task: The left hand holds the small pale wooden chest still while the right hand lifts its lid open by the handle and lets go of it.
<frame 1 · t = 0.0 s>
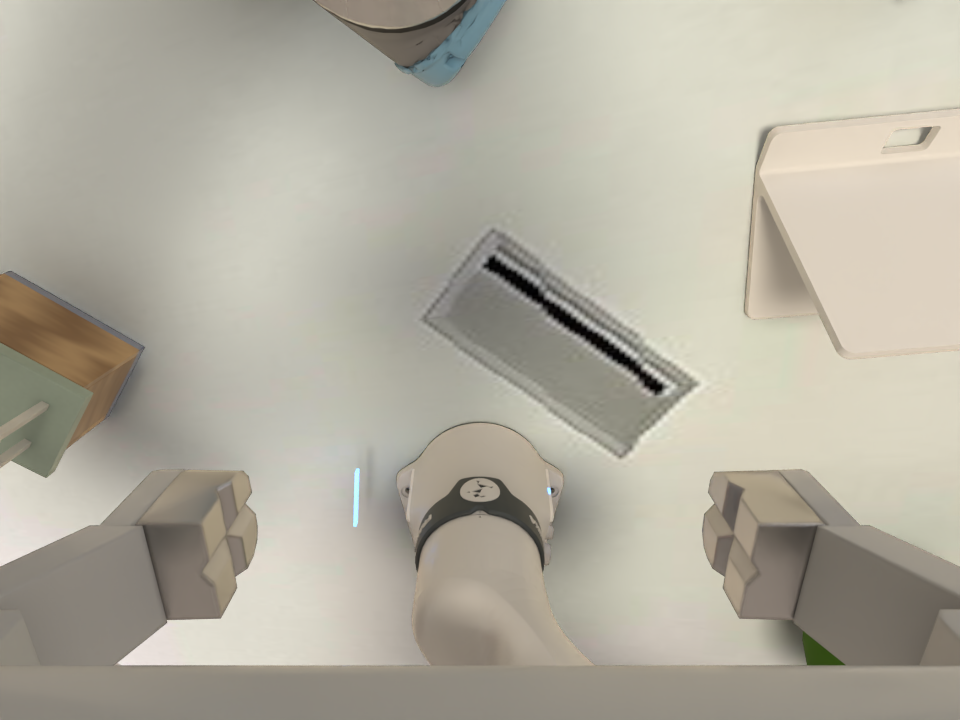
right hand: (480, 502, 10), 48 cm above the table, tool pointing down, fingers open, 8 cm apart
chest: (62, 347, 60), on the table
vase: (840, 594, 73), on the table
tablet stand: (882, 215, 55), on the table
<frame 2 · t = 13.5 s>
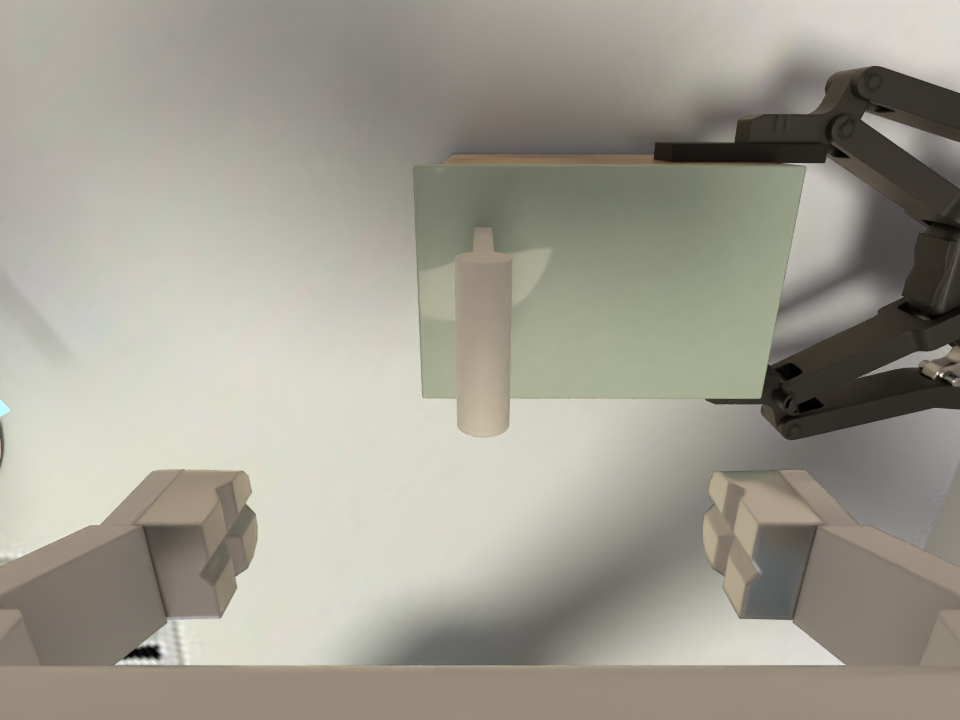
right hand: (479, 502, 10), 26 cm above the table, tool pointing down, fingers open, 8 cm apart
left hand: (649, 269, 28), fingers closed on chest, 10 cm apart
lid: (616, 313, 21), point 14 cm above the table, hinge at 0.0°
chest: (572, 241, 34), on the table, touching left hand
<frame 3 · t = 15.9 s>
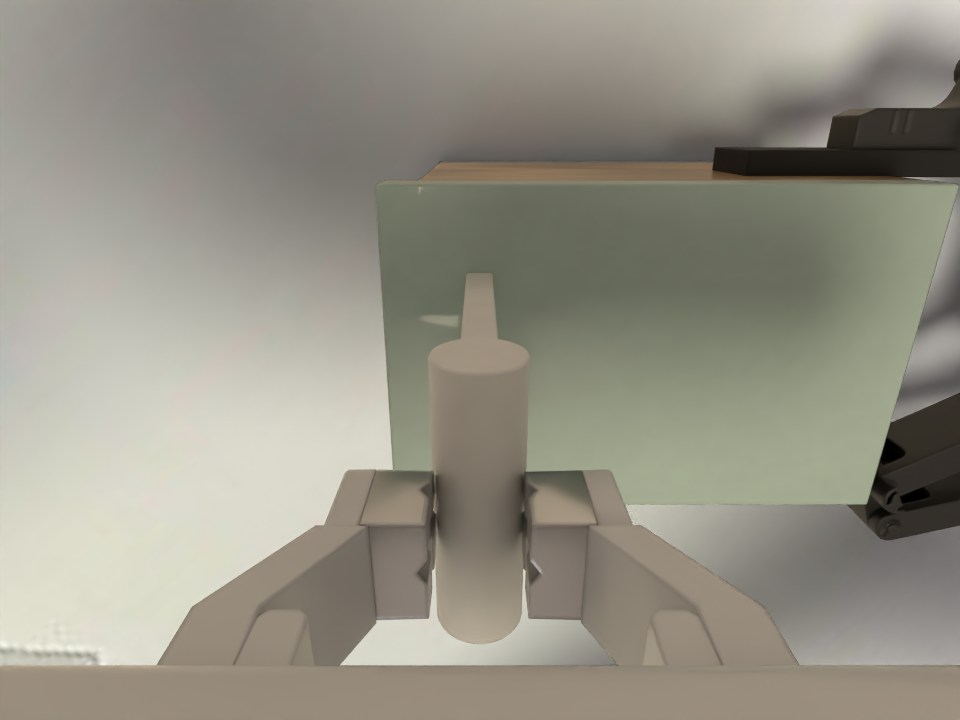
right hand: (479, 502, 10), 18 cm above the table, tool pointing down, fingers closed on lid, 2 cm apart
left hand: (705, 319, 20), fingers closed on chest, 10 cm apart
lid: (682, 410, 14), point 14 cm above the table, hinge at 0.0°, touching right hand
chest: (593, 272, 27), on the table, touching left hand
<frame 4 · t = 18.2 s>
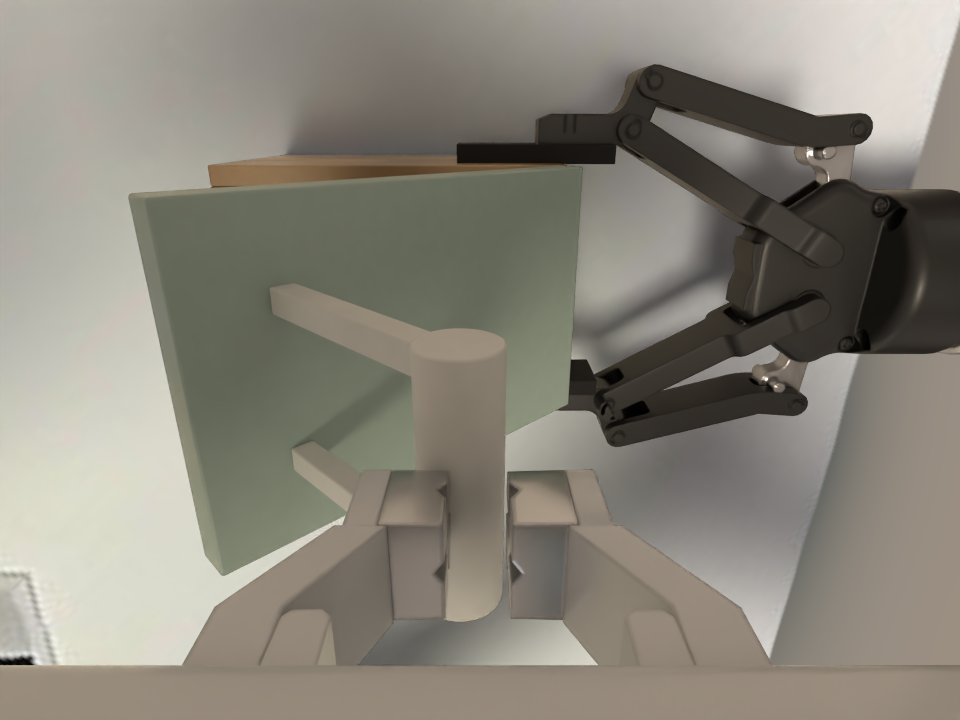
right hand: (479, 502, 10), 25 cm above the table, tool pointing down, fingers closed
left hand: (459, 272, 27), fingers closed on chest, 10 cm apart
lid: (502, 364, 17), point 18 cm above the table, hinge at 44.2°, touching right hand
chest: (417, 244, 34), on the table, touching left hand
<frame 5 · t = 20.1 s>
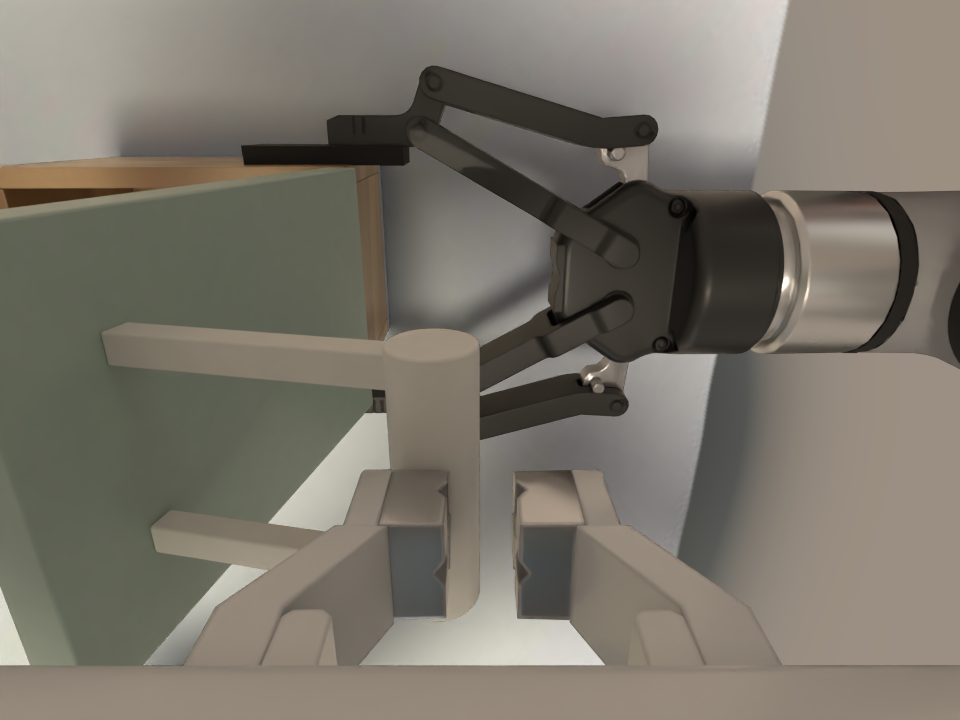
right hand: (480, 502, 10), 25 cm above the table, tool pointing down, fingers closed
left hand: (269, 275, 27), fingers closed on chest, 10 cm apart
lid: (364, 370, 16), point 19 cm above the table, hinge at 76.6°, touching right hand
chest: (262, 246, 33), on the table, touching left hand
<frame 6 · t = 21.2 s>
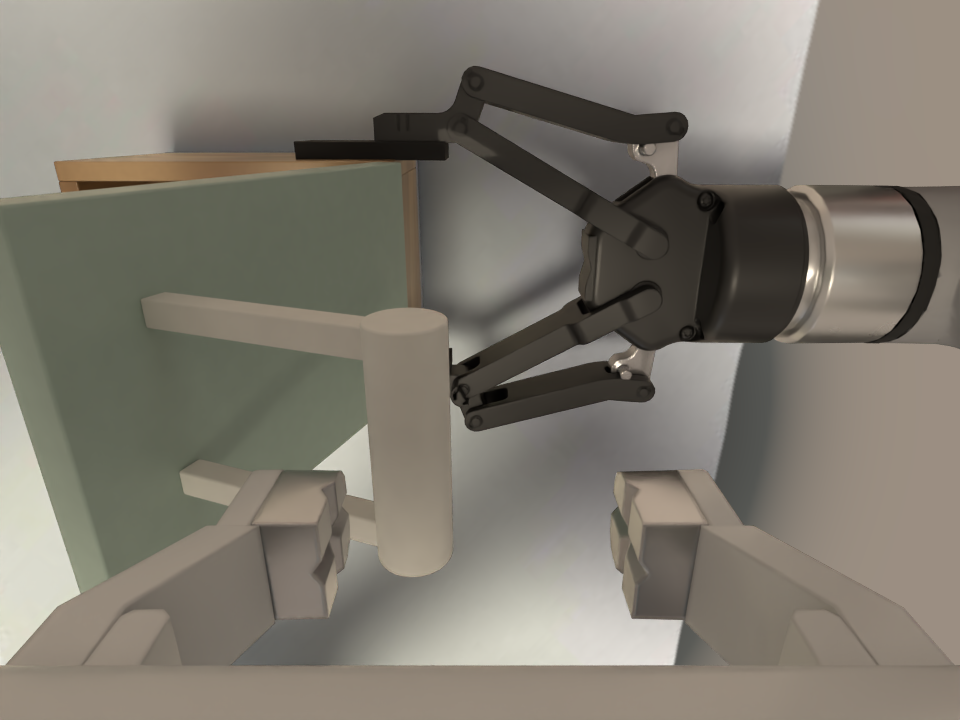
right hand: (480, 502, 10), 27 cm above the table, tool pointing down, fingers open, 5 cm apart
left hand: (315, 264, 28), fingers closed on chest, 10 cm apart
lid: (382, 349, 17), point 19 cm above the table, hinge at 69.5°
chest: (304, 238, 35), on the table, touching left hand
when the left hand's fingers open (7 cm above the table, at t = 24.3 s): chest stays where it is, on the table.
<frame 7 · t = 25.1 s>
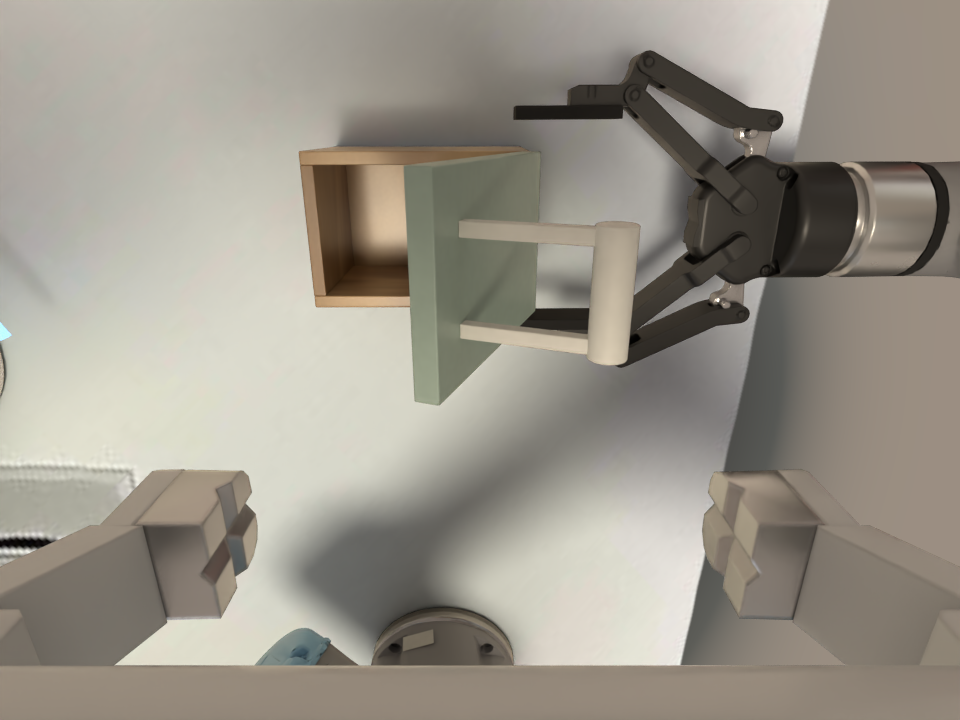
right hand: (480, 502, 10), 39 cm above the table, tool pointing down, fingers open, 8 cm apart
left hand: (512, 222, 39), fingers open, 13 cm apart
lid: (557, 263, 29), point 19 cm above the table, hinge at 69.0°
chest: (430, 212, 46), on the table
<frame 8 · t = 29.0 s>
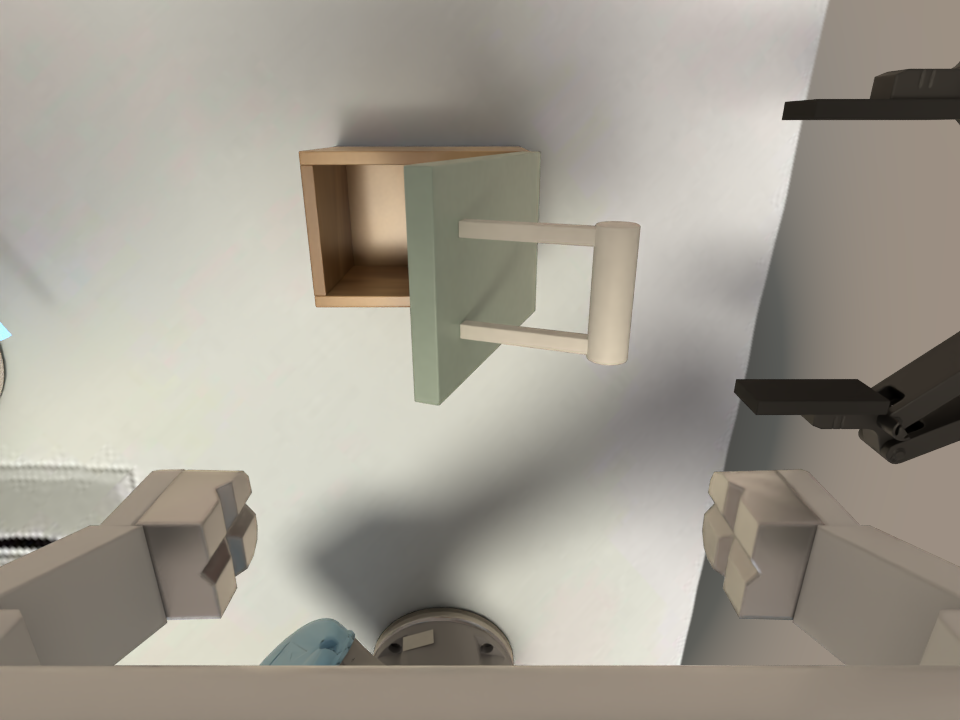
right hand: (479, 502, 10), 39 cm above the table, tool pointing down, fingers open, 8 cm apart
left hand: (768, 266, 28), fingers open, 13 cm apart
lid: (557, 263, 29), point 19 cm above the table, hinge at 69.0°
chest: (430, 212, 46), on the table
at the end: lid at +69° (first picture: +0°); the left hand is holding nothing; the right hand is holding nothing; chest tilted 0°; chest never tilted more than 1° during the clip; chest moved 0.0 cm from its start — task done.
